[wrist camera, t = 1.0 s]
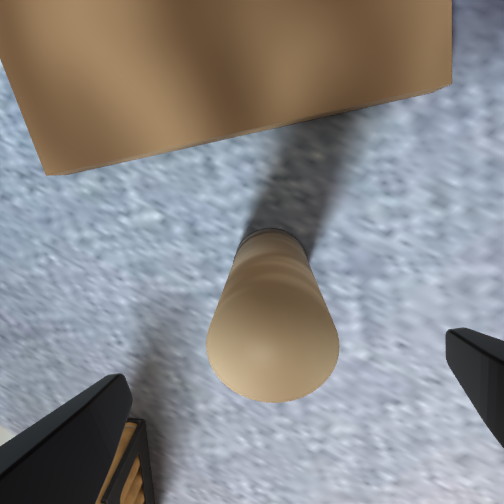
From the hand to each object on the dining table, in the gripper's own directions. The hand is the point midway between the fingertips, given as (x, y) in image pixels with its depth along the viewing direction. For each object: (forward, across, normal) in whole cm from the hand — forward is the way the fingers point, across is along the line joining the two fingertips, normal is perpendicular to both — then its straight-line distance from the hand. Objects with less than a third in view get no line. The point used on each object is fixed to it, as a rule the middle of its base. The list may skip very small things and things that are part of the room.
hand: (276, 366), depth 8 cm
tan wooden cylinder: (+9, 0, 0) cm, 9 cm away
